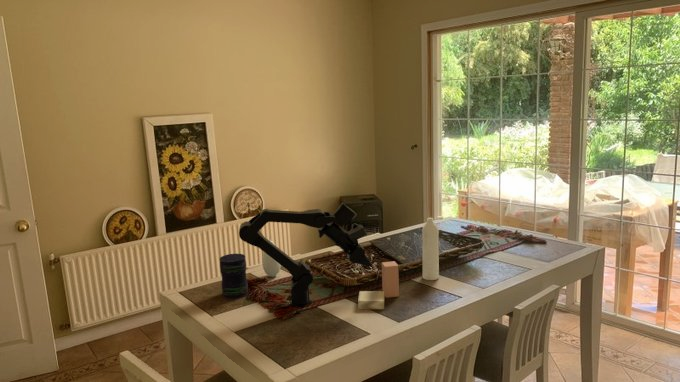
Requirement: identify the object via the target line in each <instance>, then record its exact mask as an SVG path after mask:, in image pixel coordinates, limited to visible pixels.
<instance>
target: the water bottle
mask: <svg viewBox="0 0 680 382" xmlns="http://www.w3.org/2000/svg"><path fill="white" fill-rule="evenodd" d="M426 218H427V219H426V223H425V224H424V226H423V227H422V232H421V234H422V236H421V237H422V239H421V242H422V243H421V245H422V251H421V252H422V256H421V257H422V260H421V261H422V278H423V279H424V280H426V281H435V280H438V279H439V278H440V270H439V269H440V268H439V266H440V265H439V262H440V261H439V259H440V258H439V256H440V254H439V251H440V249H439V247H440V246H439V245H440V244H439V240H440V239H439V231H440V230H439V228H438V226H437V225H436V223H435V221H434V217H426ZM436 220H440V221H441V220H444V216H443V215H438V216H436Z"/></svg>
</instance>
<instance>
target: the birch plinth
mask: <svg viewBox="0 0 680 382" xmlns="http://www.w3.org/2000/svg"><path fill="white" fill-rule="evenodd" d="M357 309H358V310H385V296H384V291H383V290H378V291H377V290H373V291H372V290H371V291H370V290H364V291H363V290H359V293H358V300H357Z"/></svg>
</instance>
